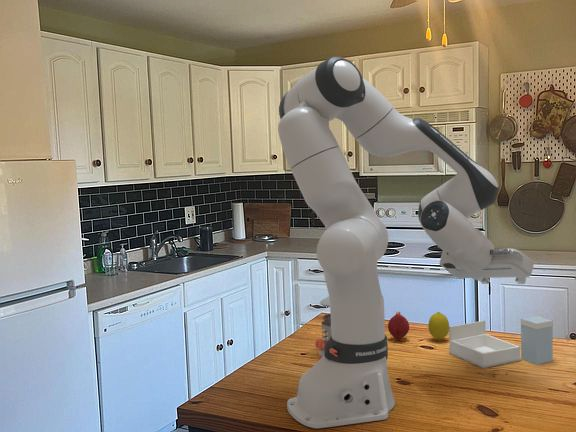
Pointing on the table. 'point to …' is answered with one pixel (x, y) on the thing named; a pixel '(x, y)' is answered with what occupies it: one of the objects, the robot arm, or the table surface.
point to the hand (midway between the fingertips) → (504, 281)
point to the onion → (398, 326)
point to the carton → (537, 340)
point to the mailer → (480, 346)
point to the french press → (326, 323)
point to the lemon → (438, 326)
